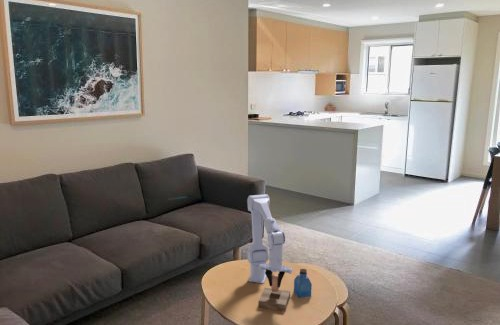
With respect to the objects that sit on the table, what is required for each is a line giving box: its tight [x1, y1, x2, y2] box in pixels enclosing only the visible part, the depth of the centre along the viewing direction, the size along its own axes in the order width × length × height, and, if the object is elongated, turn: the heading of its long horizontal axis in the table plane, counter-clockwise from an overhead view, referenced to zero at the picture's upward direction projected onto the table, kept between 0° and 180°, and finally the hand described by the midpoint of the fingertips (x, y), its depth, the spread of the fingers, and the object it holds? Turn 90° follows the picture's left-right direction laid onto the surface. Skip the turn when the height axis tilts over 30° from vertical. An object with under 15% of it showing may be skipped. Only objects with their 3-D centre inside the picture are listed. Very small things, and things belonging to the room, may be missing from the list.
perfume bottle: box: [293, 268, 312, 299], centre depth 187 cm, size 6×6×12 cm
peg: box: [270, 273, 280, 292], centre depth 178 cm, size 3×3×7 cm
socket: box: [258, 287, 291, 312], centre depth 180 cm, size 12×12×3 cm
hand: (275, 285), depth 179 cm, fingers closed on peg, 3 cm apart
